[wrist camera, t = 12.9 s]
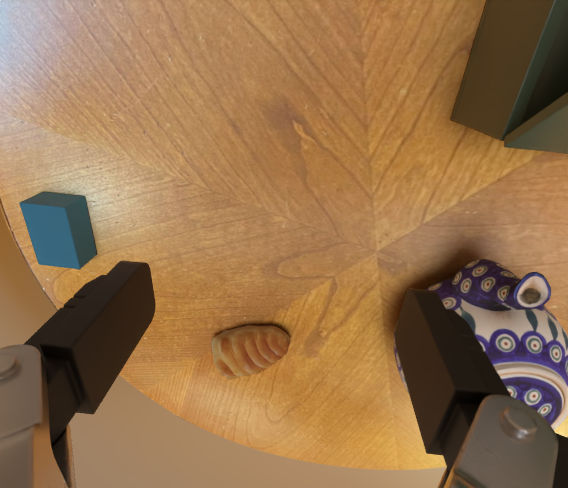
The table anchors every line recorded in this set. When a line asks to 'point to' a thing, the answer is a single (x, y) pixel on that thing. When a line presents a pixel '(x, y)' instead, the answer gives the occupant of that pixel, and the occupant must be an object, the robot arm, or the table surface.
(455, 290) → the teapot
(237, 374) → the pastry
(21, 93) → the table surface
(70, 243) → the blue rectangular block
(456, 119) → the bin
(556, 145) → the lid
